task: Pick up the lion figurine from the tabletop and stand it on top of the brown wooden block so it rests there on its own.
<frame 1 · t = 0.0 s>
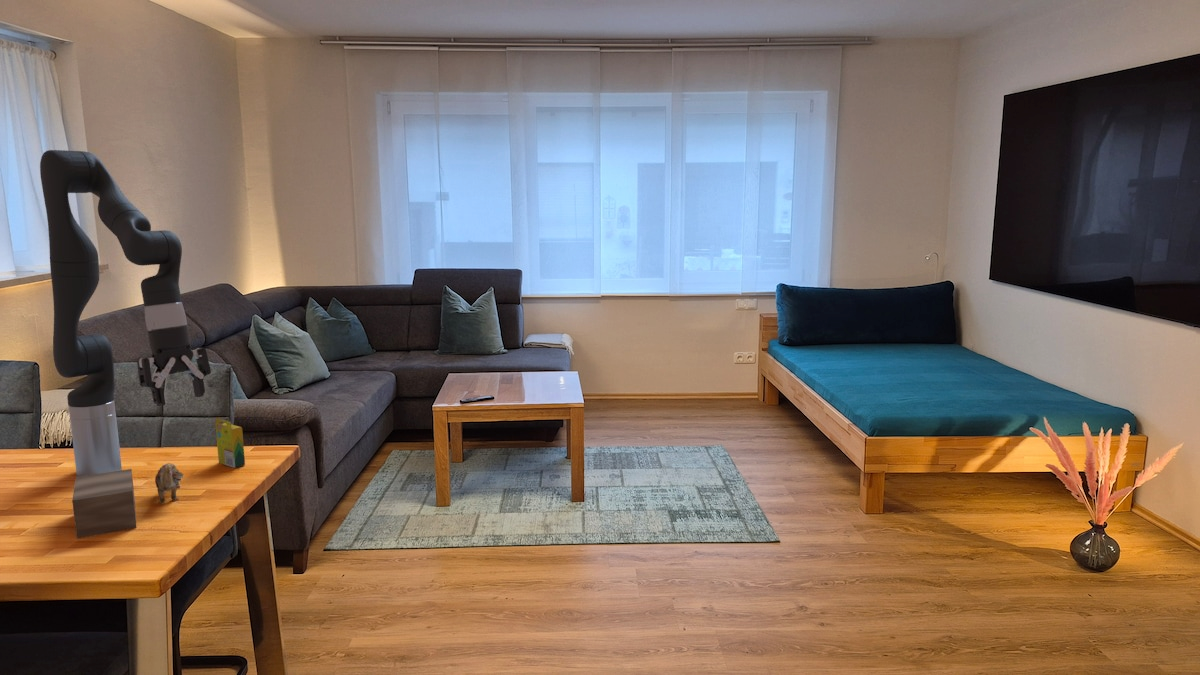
hand: (180, 401, 169), 22 cm above the table, tool pointing down, fingers open, 8 cm apart
brown wooden block: (107, 521, 163), on the table
crayon box: (232, 465, 196), on the table
lion figurine: (171, 498, 175), on the table
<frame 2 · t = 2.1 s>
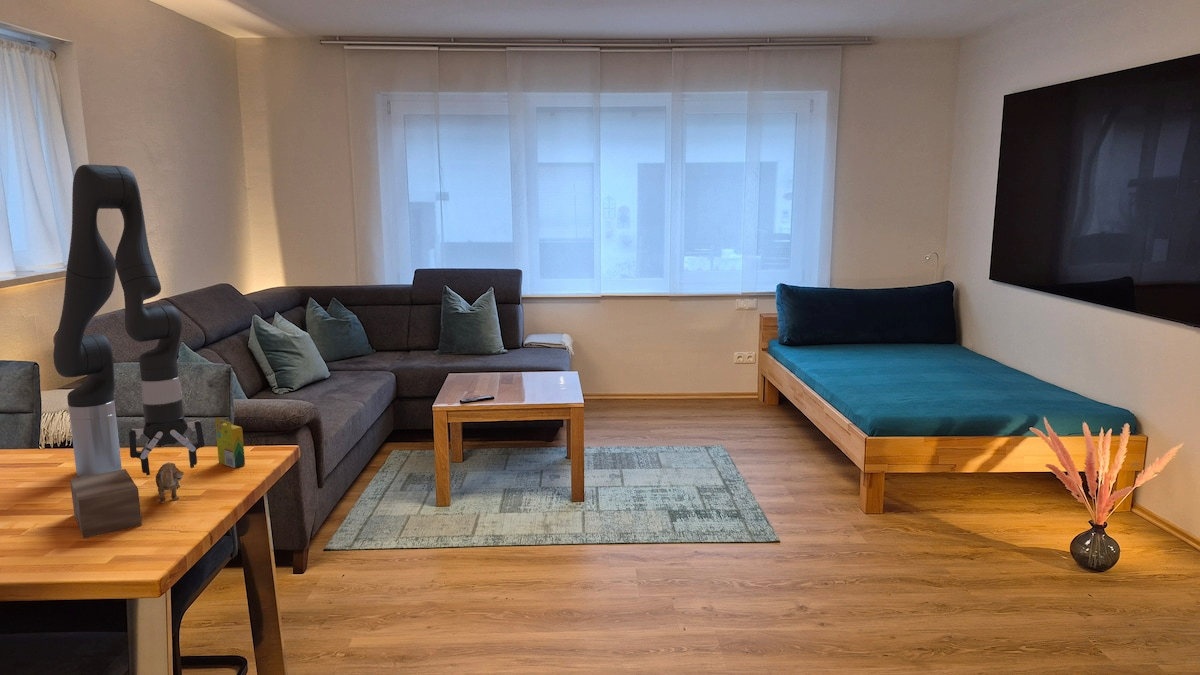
hand: (170, 470, 174), 6 cm above the table, tool pointing down, fingers open, 8 cm apart
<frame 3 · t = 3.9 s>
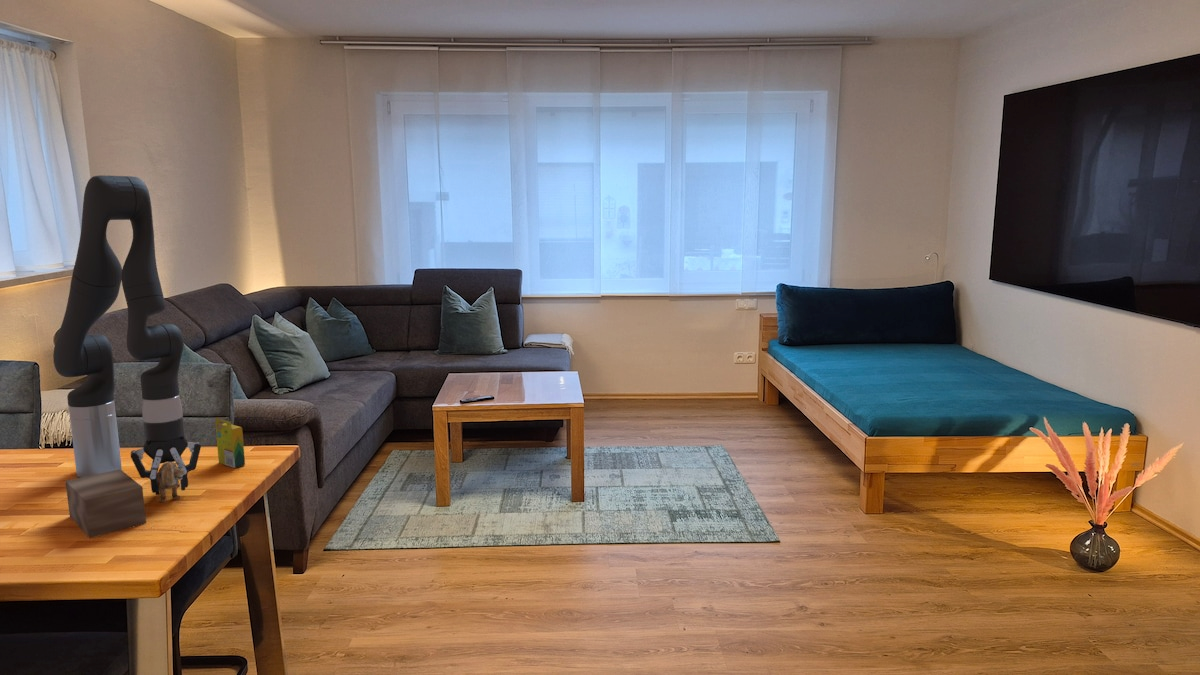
hand: (170, 491, 175), 1 cm above the table, tool pointing down, fingers closed on lion figurine, 4 cm apart
lion figurine: (172, 496, 176), on the table, touching gripper
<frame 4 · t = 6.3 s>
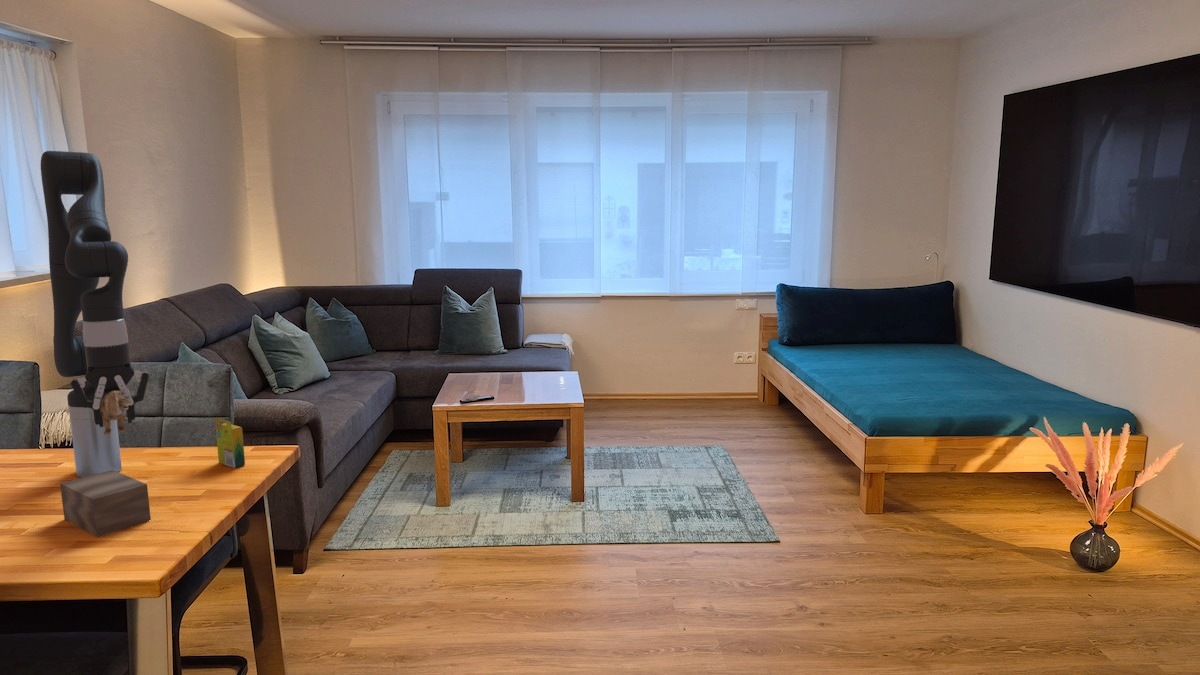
hand: (115, 423, 162), 20 cm above the table, tool pointing down, fingers closed on lion figurine, 4 cm apart
lion figurine: (118, 429, 163), point 18 cm above the table, touching gripper
when the fingers open (11 cm above the table, at t = 9.0 s): lion figurine drops 2 cm, resting on brown wooden block.
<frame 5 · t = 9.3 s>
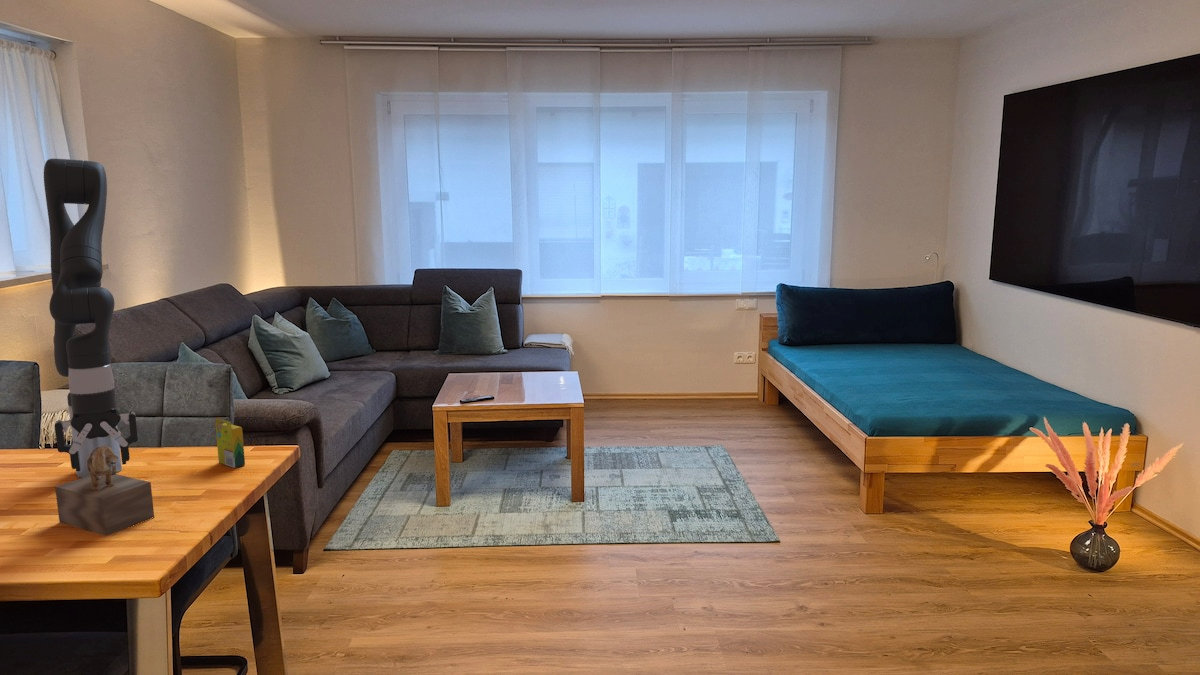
hand: (101, 466, 161), 11 cm above the table, tool pointing down, fingers open, 7 cm apart
brown wooden block: (107, 521, 163), on the table, touching lion figurine
lion figurine: (106, 483, 162), point 7 cm above the table, touching brown wooden block
everything else where it was.
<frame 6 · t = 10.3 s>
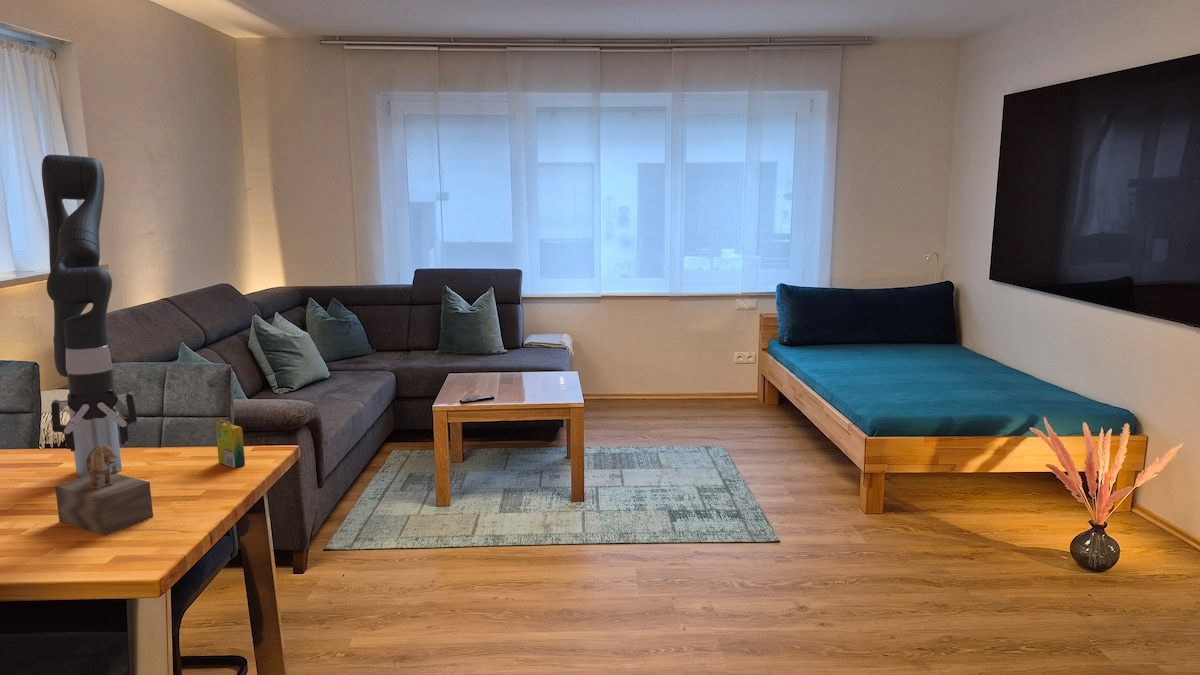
hand: (98, 447, 160), 16 cm above the table, tool pointing down, fingers open, 8 cm apart
nothing on the table moved.
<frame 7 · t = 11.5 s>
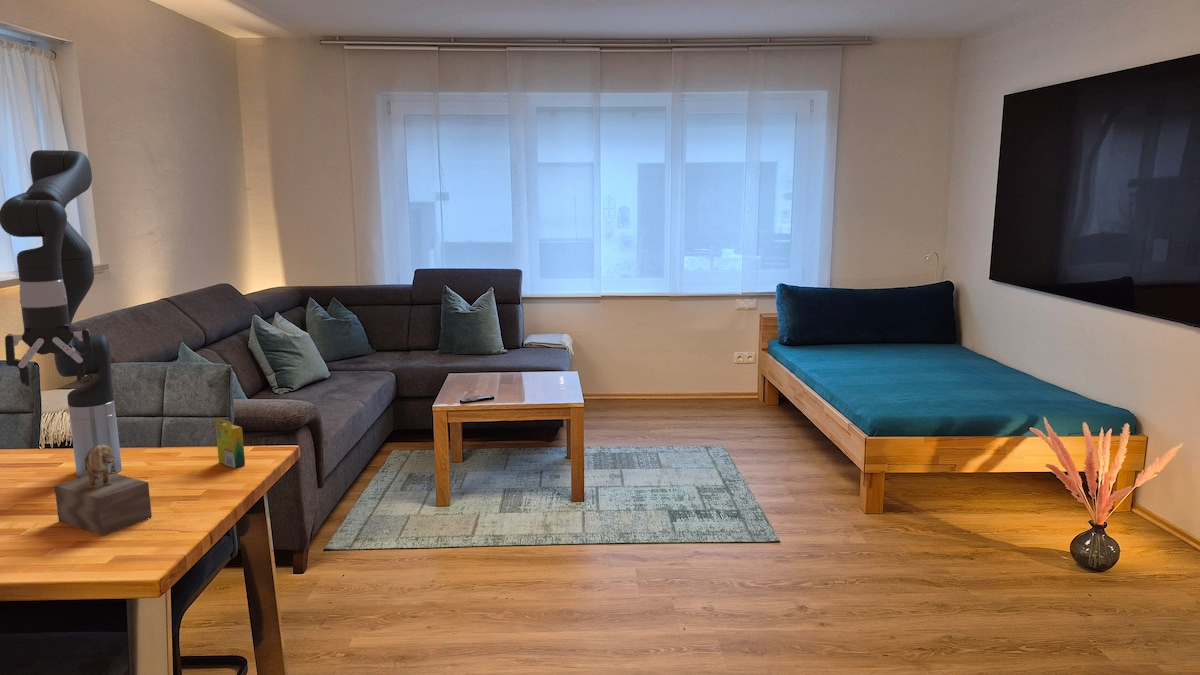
hand: (54, 382, 159), 28 cm above the table, tool pointing down, fingers open, 8 cm apart
brown wooden block: (105, 520, 163), on the table
lion figurine: (105, 482, 163), point 8 cm above the table
everything else where it was.
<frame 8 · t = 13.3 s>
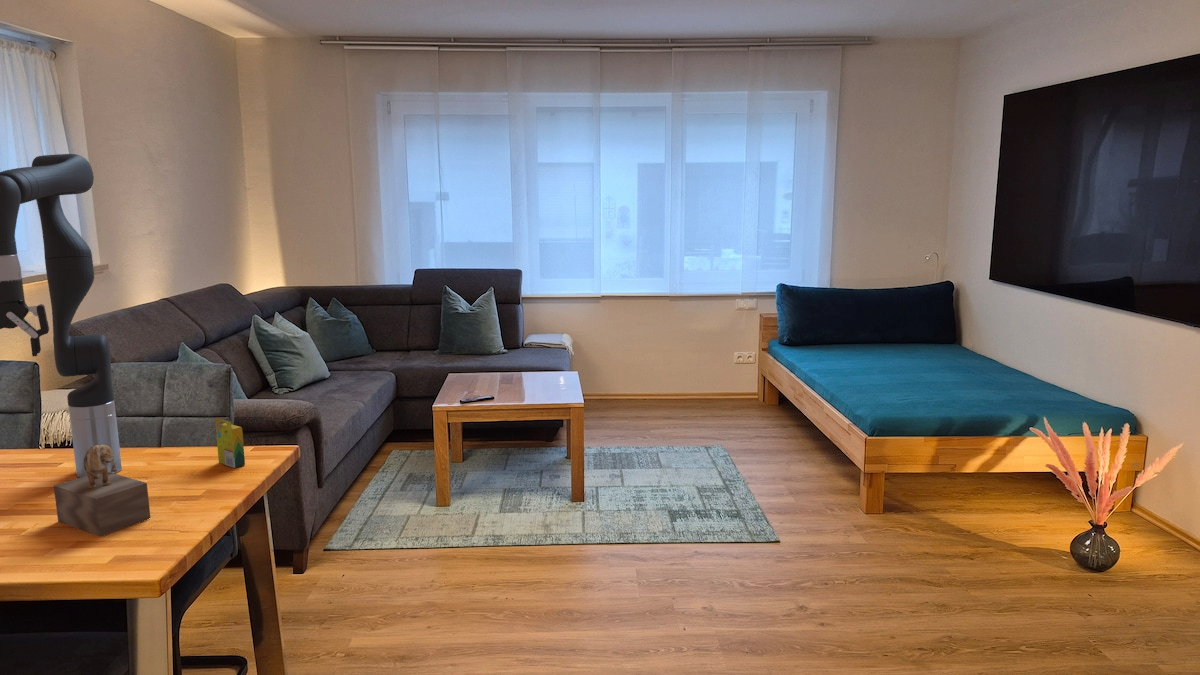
hand: (9, 358, 160), 33 cm above the table, tool pointing down, fingers open, 8 cm apart
brown wooden block: (104, 521, 163), on the table, touching lion figurine
lion figurine: (104, 482, 163), point 8 cm above the table, touching brown wooden block
everything else where it was.
at the end: lion figurine inside the target area on the brown wooden block (1.7 cm from its centre), point 7.8 cm above the brown wooden block's base; lion figurine tilted 1°; the gripper is holding nothing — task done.
